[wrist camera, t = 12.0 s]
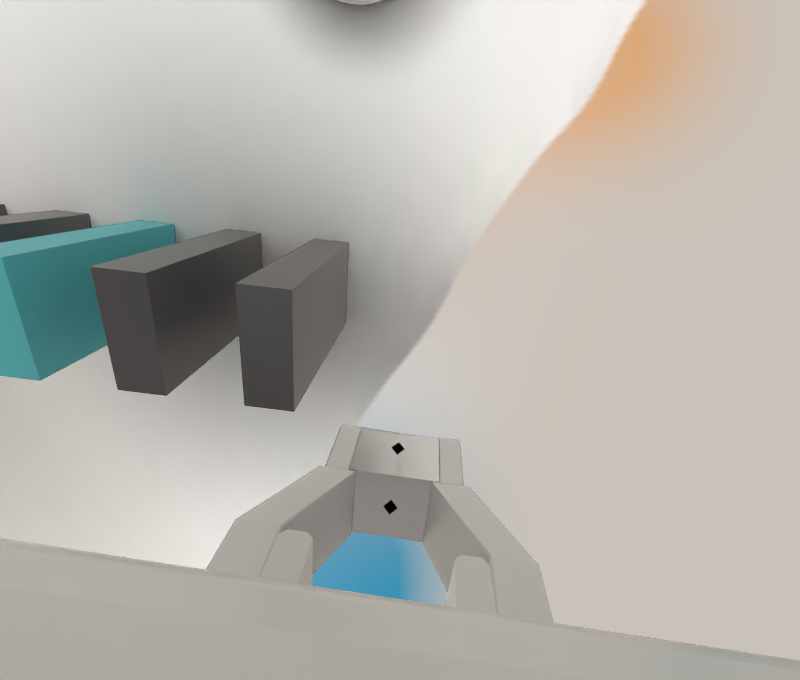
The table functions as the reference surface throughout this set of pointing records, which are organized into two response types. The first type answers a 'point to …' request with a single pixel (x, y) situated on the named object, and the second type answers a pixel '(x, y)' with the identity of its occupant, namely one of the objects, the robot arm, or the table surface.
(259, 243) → the domino
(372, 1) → the cup
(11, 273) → the domino teal
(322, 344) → the domino
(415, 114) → the table surface
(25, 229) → the domino
